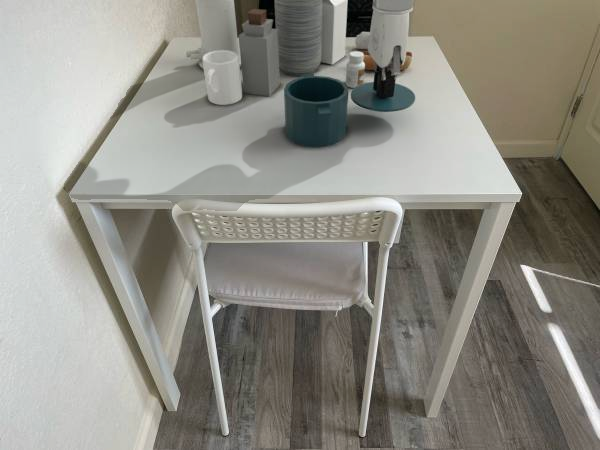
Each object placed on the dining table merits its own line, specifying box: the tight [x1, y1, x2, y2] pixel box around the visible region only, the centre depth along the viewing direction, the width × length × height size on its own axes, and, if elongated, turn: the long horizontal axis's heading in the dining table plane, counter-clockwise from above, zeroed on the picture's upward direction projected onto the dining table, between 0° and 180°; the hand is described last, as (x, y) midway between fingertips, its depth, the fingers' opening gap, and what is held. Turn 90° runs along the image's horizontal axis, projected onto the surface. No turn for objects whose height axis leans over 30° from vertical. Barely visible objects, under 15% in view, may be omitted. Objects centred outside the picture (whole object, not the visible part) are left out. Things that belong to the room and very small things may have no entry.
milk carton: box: [320, 0, 349, 65], centre depth 121 cm, size 7×7×19 cm
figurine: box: [354, 31, 370, 51], centre depth 130 cm, size 4×8×5 cm, turn 67°
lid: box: [350, 72, 416, 113], centre depth 96 cm, size 14×14×6 cm
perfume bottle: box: [238, 8, 281, 97], centre depth 107 cm, size 7×7×18 cm
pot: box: [283, 73, 350, 148], centre depth 94 cm, size 13×18×10 cm
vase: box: [274, 0, 323, 77], centre depth 114 cm, size 12×12×23 cm
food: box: [360, 50, 413, 71], centre depth 120 cm, size 14×6×5 cm, turn 87°
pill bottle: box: [345, 50, 365, 89], centre depth 111 cm, size 4×4×8 cm
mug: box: [202, 50, 243, 106], centre depth 105 cm, size 8×12×10 cm
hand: (383, 92), depth 97 cm, fingers closed on lid, 2 cm apart
